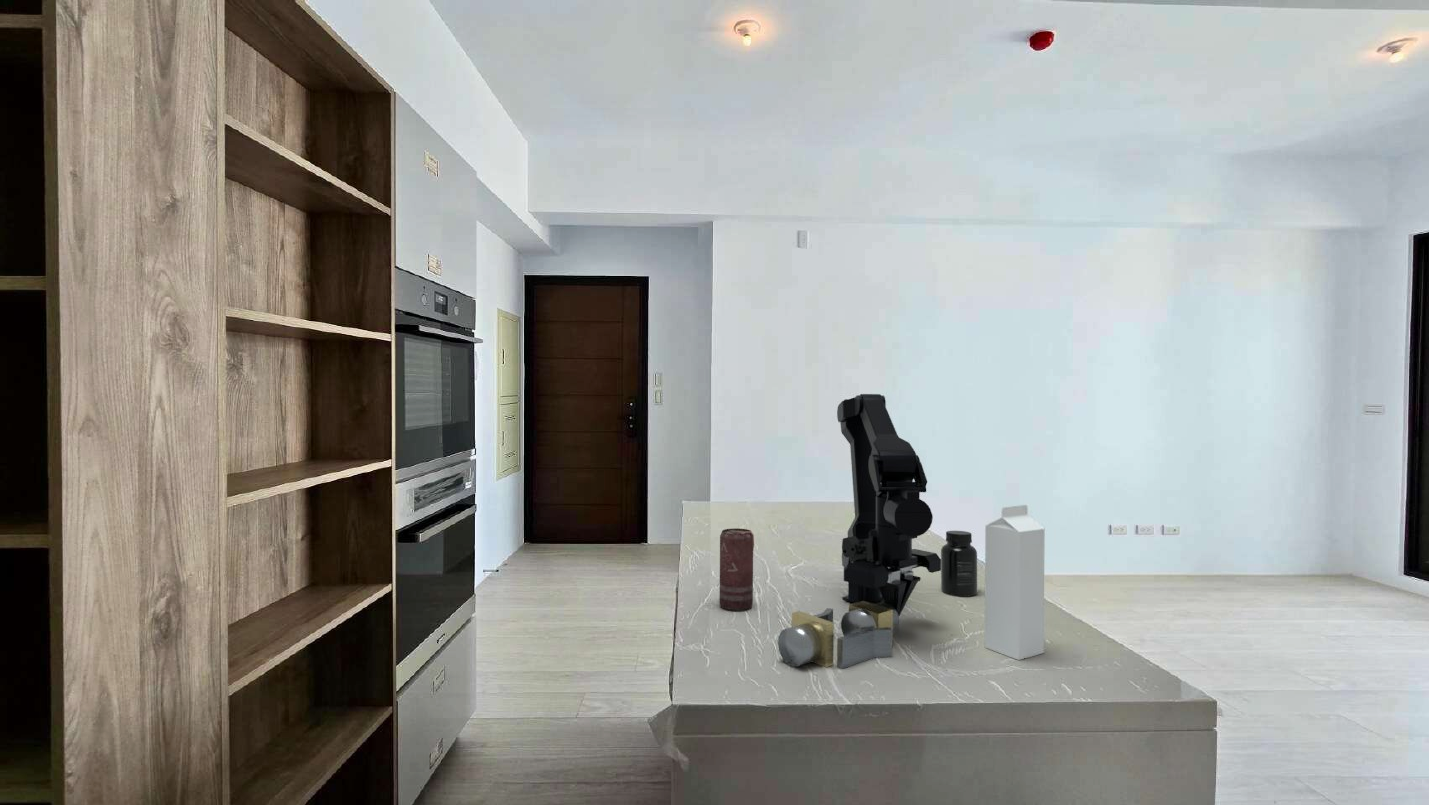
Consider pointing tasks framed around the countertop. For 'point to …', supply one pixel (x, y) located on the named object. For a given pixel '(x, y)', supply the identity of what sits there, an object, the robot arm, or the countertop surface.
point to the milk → (1014, 584)
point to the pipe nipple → (869, 617)
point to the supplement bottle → (959, 564)
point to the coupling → (830, 642)
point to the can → (736, 569)
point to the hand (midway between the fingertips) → (893, 619)
